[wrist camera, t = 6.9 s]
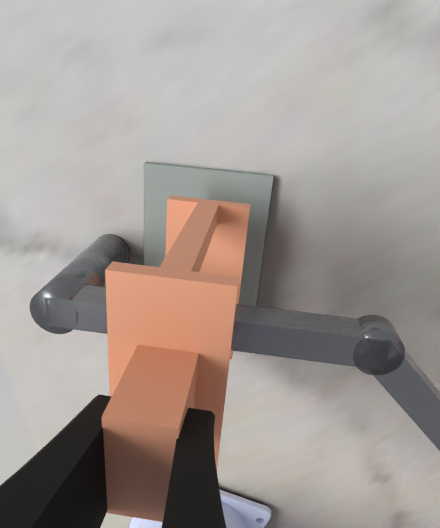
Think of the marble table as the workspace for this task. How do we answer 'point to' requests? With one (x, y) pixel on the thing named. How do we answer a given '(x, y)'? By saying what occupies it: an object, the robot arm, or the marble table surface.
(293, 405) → the marble table surface
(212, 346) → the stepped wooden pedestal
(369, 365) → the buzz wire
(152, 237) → the pad
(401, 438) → the marble table surface
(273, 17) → the marble table surface
